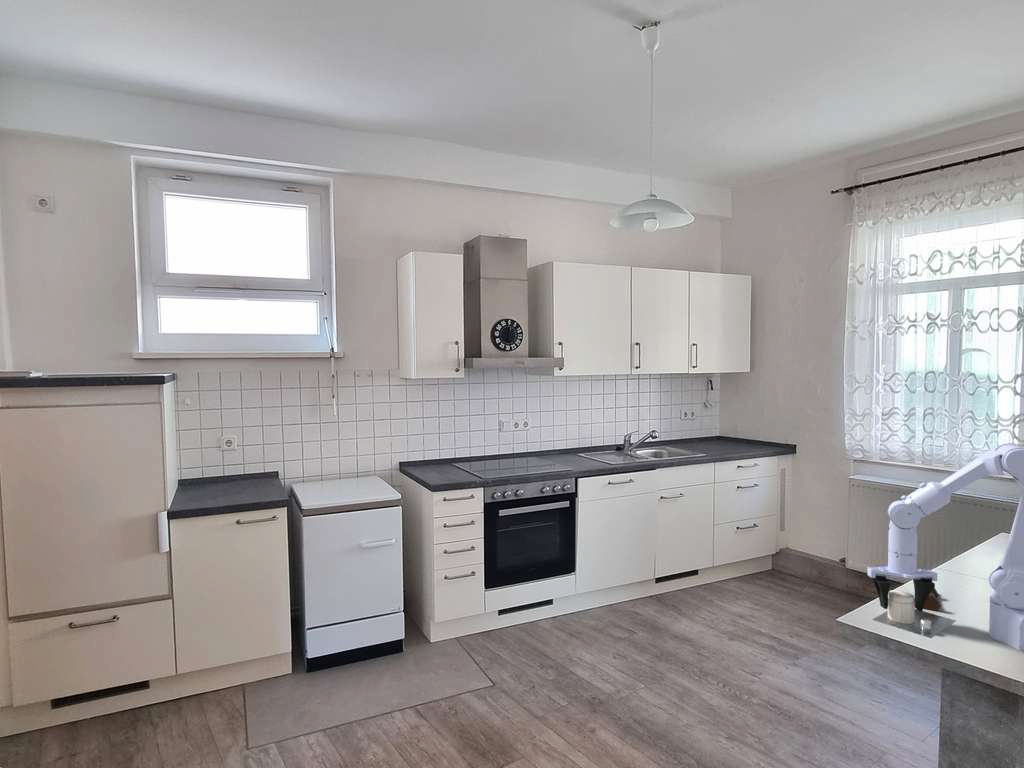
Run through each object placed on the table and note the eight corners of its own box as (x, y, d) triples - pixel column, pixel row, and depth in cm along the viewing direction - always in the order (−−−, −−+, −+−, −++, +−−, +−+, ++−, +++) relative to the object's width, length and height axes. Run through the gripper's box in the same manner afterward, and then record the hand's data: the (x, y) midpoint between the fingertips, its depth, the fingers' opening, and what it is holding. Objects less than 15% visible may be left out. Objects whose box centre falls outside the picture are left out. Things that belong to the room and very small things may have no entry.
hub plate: (899, 608, 149) (899, 594, 149) (955, 624, 139) (956, 610, 139) (871, 623, 139) (872, 609, 139) (930, 642, 129) (931, 626, 129)
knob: (893, 613, 143) (893, 588, 143) (916, 620, 139) (917, 594, 139) (884, 618, 140) (885, 592, 140) (908, 625, 136) (909, 599, 136)
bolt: (930, 603, 157) (929, 620, 145) (910, 590, 160) (908, 605, 148) (944, 587, 155) (944, 602, 143) (924, 574, 158) (923, 588, 146)
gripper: (877, 555, 136) (876, 612, 136) (945, 558, 134) (944, 617, 134) (863, 546, 143) (862, 601, 143) (928, 549, 141) (927, 605, 141)
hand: (901, 608), depth 139 cm, fingers open, 7 cm apart
